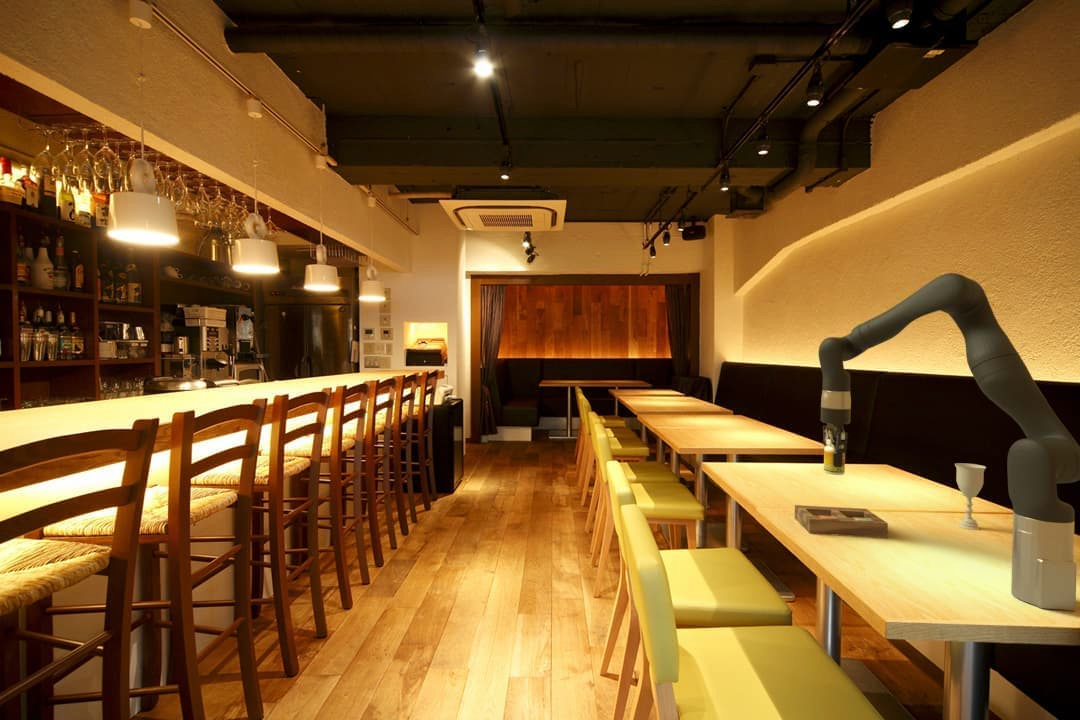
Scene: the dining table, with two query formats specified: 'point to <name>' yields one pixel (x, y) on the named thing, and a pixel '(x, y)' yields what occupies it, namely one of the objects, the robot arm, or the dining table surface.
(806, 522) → the socket block
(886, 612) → the dining table surface
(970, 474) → the chalice
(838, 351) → the robot arm
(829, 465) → the supplement bottle
